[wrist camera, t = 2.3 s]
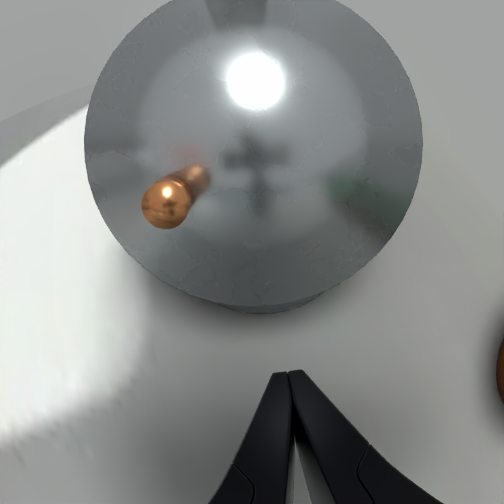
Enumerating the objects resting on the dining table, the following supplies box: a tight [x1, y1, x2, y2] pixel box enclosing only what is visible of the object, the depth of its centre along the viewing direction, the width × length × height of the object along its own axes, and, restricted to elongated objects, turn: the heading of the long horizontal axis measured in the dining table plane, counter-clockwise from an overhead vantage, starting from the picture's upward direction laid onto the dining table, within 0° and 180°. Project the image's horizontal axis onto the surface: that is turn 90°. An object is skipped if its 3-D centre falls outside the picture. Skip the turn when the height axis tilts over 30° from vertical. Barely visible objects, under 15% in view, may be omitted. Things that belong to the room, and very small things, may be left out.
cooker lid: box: [84, 0, 423, 306], centre depth 12 cm, size 20×16×2 cm
